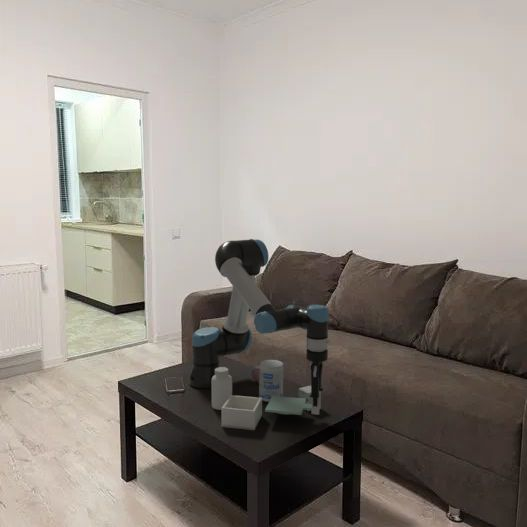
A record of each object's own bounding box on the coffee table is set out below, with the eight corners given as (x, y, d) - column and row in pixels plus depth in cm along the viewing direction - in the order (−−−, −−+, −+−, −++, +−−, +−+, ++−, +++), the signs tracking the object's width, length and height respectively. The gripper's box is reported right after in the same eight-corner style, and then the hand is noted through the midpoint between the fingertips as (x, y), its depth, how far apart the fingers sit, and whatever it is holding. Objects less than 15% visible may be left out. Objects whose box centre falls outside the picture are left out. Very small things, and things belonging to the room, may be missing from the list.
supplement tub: (263, 404, 203) (263, 368, 201) (256, 395, 212) (256, 360, 210) (286, 401, 206) (286, 365, 204) (278, 392, 215) (278, 358, 213)
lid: (272, 400, 198) (272, 382, 197) (320, 404, 194) (320, 386, 193) (265, 414, 185) (265, 395, 184) (316, 419, 181) (316, 400, 180)
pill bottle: (212, 411, 196) (212, 373, 194) (211, 402, 204) (210, 366, 202) (233, 410, 198) (233, 372, 195) (231, 401, 205) (231, 365, 203)
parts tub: (230, 412, 195) (230, 395, 194) (261, 415, 192) (262, 397, 191) (221, 426, 183) (221, 408, 182) (254, 430, 181) (254, 411, 180)
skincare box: (297, 406, 201) (298, 388, 200) (309, 402, 205) (310, 384, 204) (307, 411, 196) (308, 393, 195) (320, 407, 200) (320, 389, 199)
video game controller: (261, 379, 234) (254, 365, 234) (270, 375, 233) (263, 361, 233) (255, 387, 225) (248, 372, 225) (264, 383, 223) (257, 368, 223)
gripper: (325, 356, 175) (324, 422, 178) (329, 342, 192) (328, 402, 195) (303, 355, 177) (302, 420, 180) (309, 341, 193) (308, 401, 197)
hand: (316, 411), depth 188 cm, fingers closed on lid, 4 cm apart
